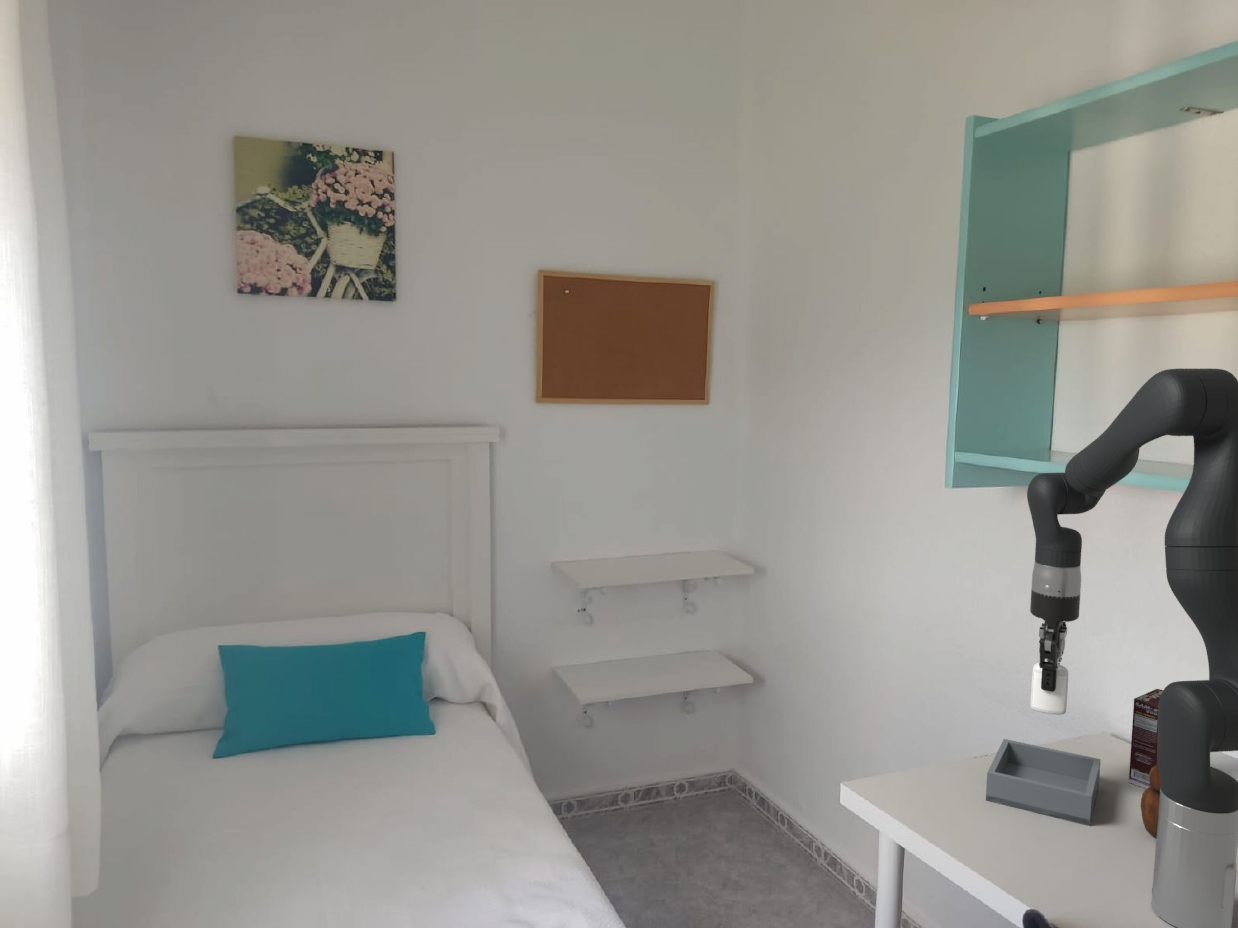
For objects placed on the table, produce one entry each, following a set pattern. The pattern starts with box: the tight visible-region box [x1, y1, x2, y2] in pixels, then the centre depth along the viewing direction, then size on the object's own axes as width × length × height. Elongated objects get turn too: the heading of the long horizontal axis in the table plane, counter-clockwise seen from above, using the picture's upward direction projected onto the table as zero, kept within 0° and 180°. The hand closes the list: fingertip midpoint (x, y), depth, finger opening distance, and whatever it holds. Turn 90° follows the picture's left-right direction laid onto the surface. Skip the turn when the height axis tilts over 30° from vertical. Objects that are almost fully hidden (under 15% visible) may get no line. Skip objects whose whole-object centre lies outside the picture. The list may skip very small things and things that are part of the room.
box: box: [985, 738, 1102, 827], centre depth 159 cm, size 16×16×5 cm
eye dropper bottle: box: [1029, 651, 1069, 715], centre depth 157 cm, size 4×6×12 cm
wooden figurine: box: [1140, 762, 1161, 839], centre depth 145 cm, size 7×6×15 cm
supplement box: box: [1128, 688, 1164, 790], centre depth 163 cm, size 9×5×16 cm, turn 124°
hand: (1049, 685), depth 157 cm, fingers closed on eye dropper bottle, 3 cm apart
